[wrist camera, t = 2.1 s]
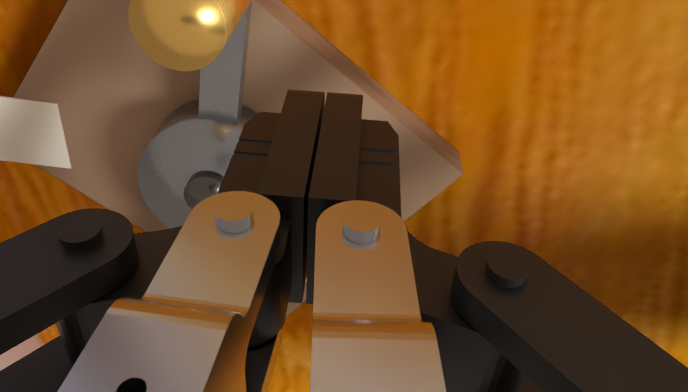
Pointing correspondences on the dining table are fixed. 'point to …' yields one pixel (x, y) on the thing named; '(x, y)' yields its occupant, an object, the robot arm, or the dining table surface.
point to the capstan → (198, 116)
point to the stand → (176, 90)
